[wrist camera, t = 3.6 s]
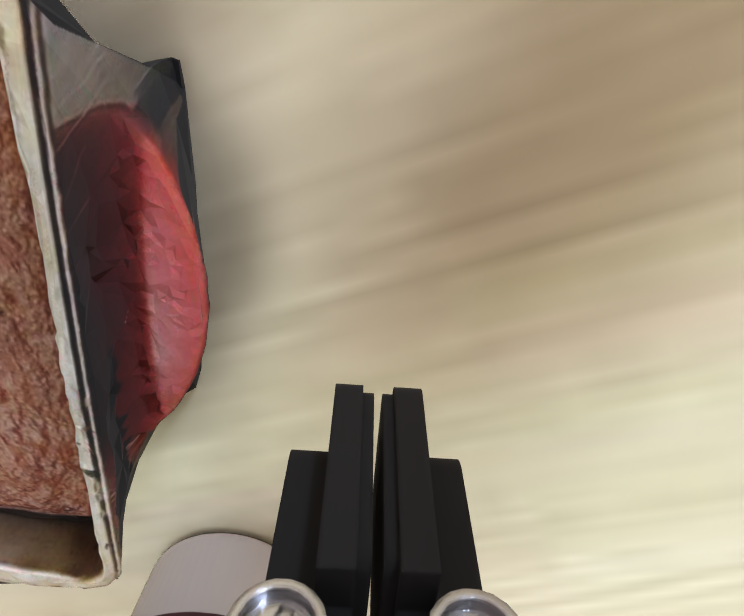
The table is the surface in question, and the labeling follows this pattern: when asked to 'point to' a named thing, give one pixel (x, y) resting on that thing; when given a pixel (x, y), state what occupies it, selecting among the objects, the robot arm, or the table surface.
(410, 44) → the table surface
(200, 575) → the coffee cup
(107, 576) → the baking dish
